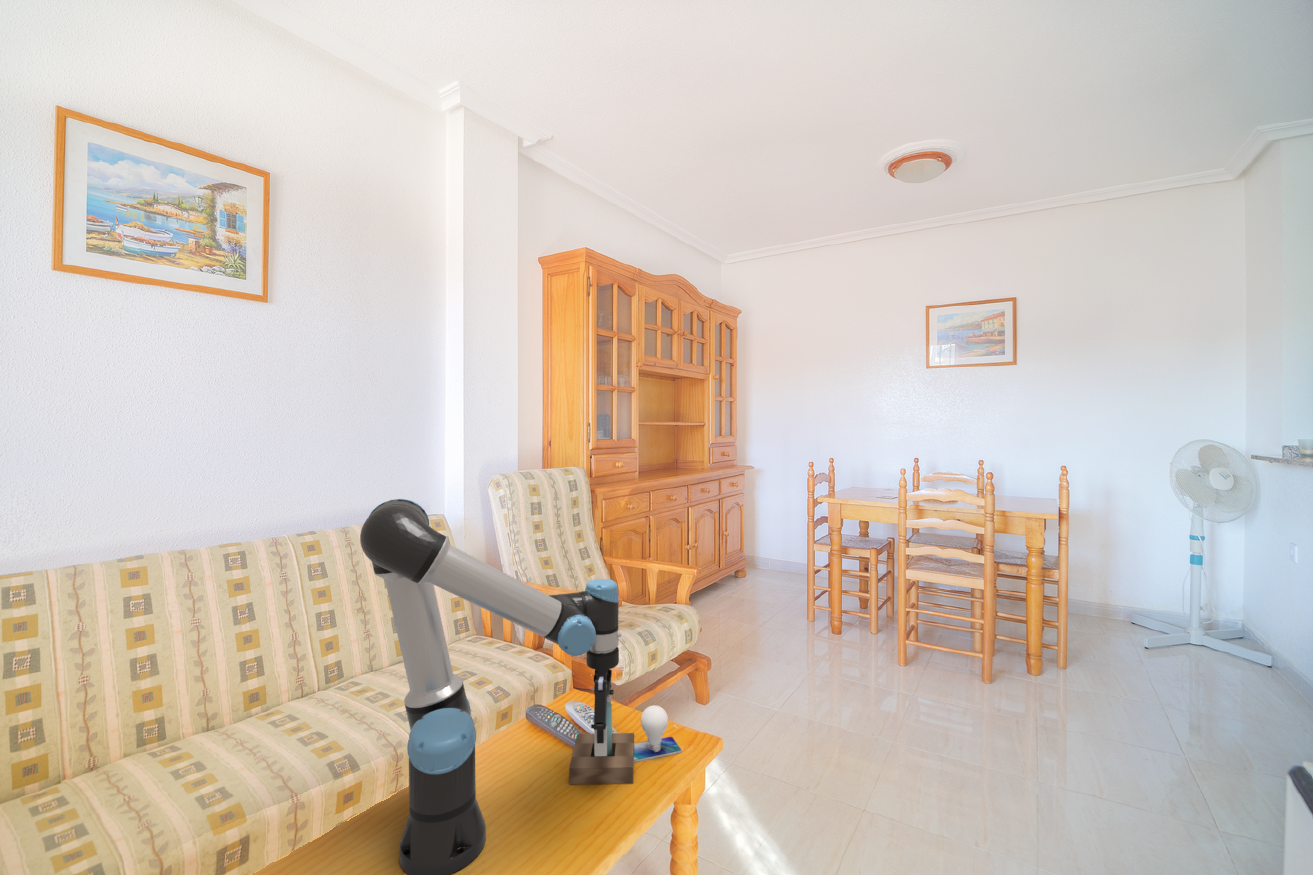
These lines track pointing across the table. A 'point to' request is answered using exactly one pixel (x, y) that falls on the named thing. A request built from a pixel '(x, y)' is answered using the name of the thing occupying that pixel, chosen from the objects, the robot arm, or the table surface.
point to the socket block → (602, 761)
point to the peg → (609, 729)
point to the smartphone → (667, 748)
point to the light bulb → (654, 726)
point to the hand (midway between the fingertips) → (603, 738)
